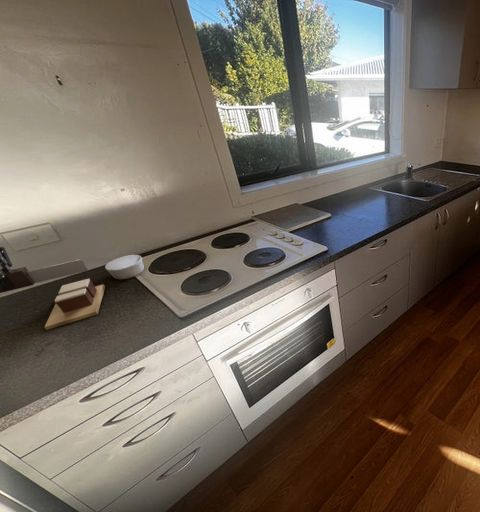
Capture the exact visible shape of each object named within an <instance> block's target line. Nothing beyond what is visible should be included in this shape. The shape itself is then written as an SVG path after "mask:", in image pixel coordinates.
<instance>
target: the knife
mask: <svg viewBox="0 0 480 512" xmlns="http://www.w3.org/2000/svg"><path fill="white" fill-rule="evenodd" d="M88 271H89V268H88V267H87V265H86V263H85V262H84V260H83V259H82V258H79V259H76V260H71V261H66V262H61V263H58V264H54V265H48V266H44V267H40V268H35V269H31V270H29V269H28V268H27V267H26V266H21V267H18V268H13V269H11V270H8V271H4V272H3V273H4V275H5V276H6V277H7V278H8V280H9V281H10V282H11V283H12V284H13V286H14V288H13V289H12V290H8V291H2V290H1V289H0V294H3V293H6V292H10V291H11V292H12V291H14V290H19V289H24V288H27V287H31V286H34V285H35V284H37V283H42V282H46V281H50V280H54V279H58V278H63V277H67V276H70V275H74V274H75V275H76V274H80V273H84V272H88Z"/></svg>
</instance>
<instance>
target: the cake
mask: <svg viewBox="0 0 480 512" xmlns="http://www.w3.org/2000/svg"><path fill="white" fill-rule="evenodd" d="M95 287H96V286H95V285H94V283H93V282H92V280H91V279H90V278H85V279H81V280H78V281H75V282H70V283H67V284H63V285H61V287H60V289H59V291H58V296H59V295H62V294H66V293H70V292H74V291H77V290H81V289H85V288H86V289H87V291H88V292H89V294H90V295H91V297H92V298H94V297H95V294H96V291H97V289H96V288H95Z"/></svg>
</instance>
